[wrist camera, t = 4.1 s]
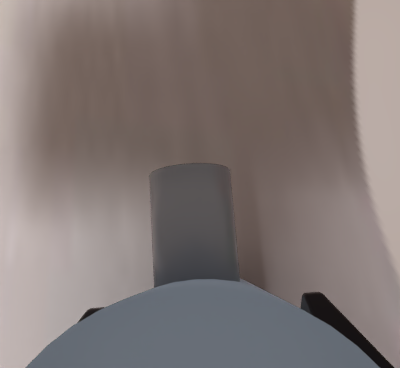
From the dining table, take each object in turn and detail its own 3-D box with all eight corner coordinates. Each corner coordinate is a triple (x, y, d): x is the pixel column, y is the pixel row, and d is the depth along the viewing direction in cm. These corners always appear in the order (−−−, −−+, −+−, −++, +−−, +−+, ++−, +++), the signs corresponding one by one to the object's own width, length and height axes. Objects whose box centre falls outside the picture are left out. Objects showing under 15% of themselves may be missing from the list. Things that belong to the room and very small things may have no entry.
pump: (274, 385, 14) (536, 910, 3) (158, 393, 15) (-78, 931, 3) (258, 223, 16) (383, 102, 4) (151, 231, 16) (-29, 135, 4)
